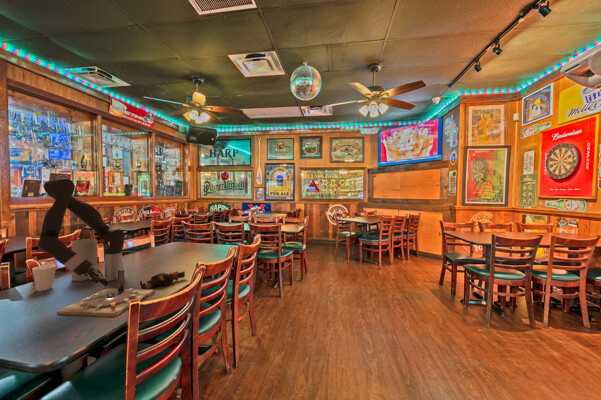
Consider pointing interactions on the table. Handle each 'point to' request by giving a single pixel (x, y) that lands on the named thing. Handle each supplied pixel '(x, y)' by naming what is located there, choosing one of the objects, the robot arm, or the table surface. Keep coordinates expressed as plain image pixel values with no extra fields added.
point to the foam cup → (44, 276)
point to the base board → (104, 311)
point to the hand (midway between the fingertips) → (107, 284)
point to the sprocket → (110, 295)
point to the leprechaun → (162, 279)
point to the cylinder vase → (85, 254)
